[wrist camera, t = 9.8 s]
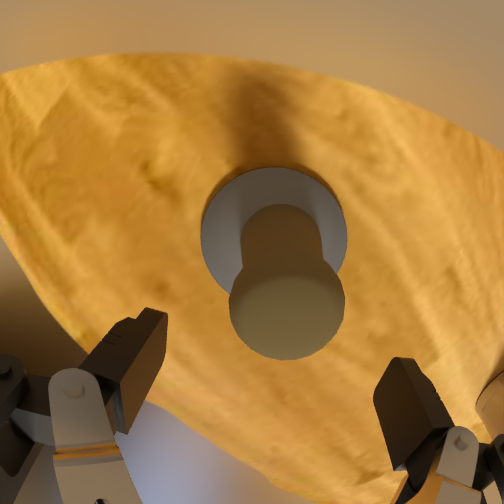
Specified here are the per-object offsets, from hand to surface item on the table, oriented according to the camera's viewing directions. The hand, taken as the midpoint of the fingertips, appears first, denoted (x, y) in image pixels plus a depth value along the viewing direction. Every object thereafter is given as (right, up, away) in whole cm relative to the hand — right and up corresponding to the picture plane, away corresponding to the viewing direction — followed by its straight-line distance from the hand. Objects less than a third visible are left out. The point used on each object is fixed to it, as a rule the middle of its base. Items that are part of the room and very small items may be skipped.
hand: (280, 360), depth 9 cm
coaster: (+1, +5, +13) cm, 14 cm away
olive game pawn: (+1, +4, +13) cm, 13 cm away
